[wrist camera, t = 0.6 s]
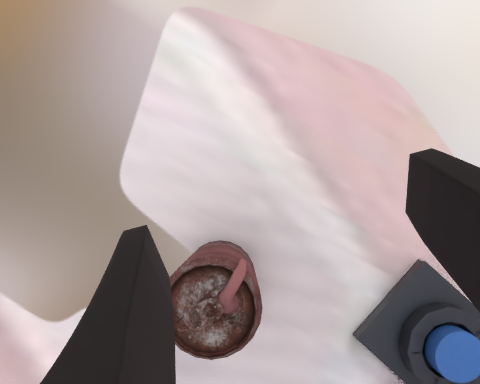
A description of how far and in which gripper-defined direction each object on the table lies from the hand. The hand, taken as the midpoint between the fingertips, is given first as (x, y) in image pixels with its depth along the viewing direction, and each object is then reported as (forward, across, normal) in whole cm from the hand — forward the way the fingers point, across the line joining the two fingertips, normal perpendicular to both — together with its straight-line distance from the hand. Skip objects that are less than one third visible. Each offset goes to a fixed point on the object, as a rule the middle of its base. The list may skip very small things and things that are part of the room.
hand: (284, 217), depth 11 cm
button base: (+11, -13, +29) cm, 33 cm away
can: (+18, +3, +21) cm, 28 cm away
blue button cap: (+8, -13, +27) cm, 31 cm away
